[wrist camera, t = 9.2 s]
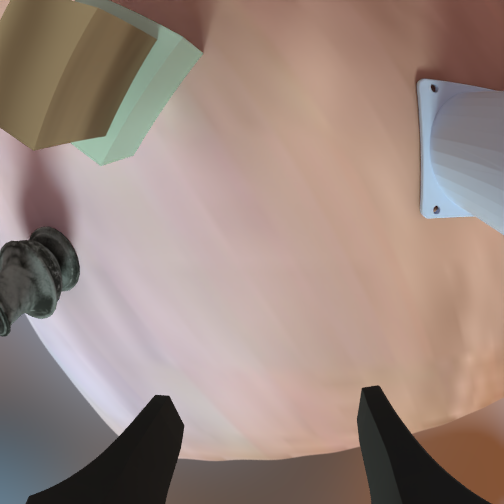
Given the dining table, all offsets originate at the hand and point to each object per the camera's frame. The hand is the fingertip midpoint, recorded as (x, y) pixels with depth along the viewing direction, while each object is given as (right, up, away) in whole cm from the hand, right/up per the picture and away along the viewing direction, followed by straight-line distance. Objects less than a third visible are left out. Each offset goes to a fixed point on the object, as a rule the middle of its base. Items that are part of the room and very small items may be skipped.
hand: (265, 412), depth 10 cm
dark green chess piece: (-15, +5, +10) cm, 19 cm away
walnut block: (-8, +14, +1) cm, 16 cm away
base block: (-8, +16, +4) cm, 18 cm away
